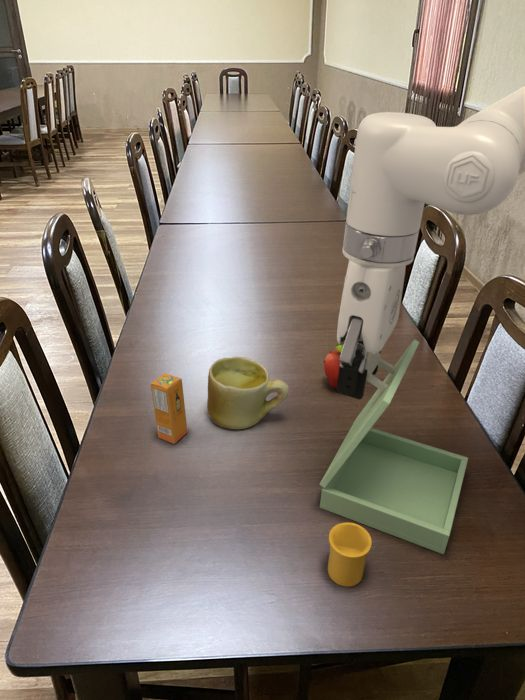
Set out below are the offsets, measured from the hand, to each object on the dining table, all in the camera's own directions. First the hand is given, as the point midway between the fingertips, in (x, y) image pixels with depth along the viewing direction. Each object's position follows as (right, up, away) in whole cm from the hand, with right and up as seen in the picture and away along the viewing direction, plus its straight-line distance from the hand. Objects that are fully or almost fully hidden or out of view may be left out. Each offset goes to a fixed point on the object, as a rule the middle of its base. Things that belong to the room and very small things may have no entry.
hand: (357, 381), depth 66 cm
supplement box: (-25, -9, +14) cm, 30 cm away
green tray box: (+6, -15, +6) cm, 17 cm away
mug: (-14, -7, +19) cm, 24 cm away
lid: (+2, -4, +1) cm, 5 cm away
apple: (+2, -3, +26) cm, 26 cm away
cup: (-2, -21, -5) cm, 22 cm away
